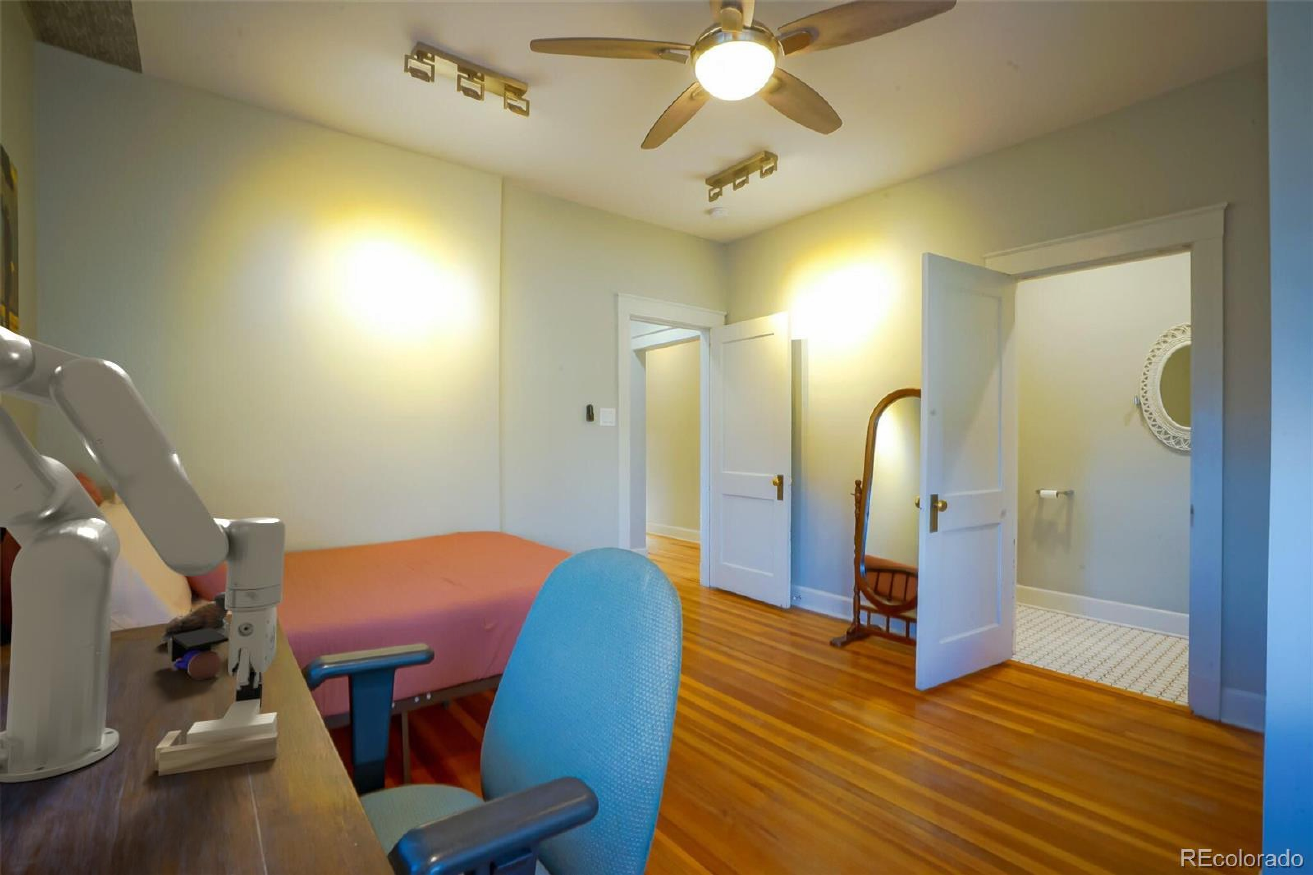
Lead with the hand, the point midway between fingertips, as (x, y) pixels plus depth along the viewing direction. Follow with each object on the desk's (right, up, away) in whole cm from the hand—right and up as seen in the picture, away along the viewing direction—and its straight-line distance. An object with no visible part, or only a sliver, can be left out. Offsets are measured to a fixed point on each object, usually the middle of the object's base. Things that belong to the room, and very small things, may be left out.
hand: (248, 711), depth 93 cm
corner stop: (+4, -1, -11) cm, 12 cm away
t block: (+3, -1, -6) cm, 7 cm away
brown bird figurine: (-35, -1, +34) cm, 48 cm away
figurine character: (-22, -1, +17) cm, 28 cm away
